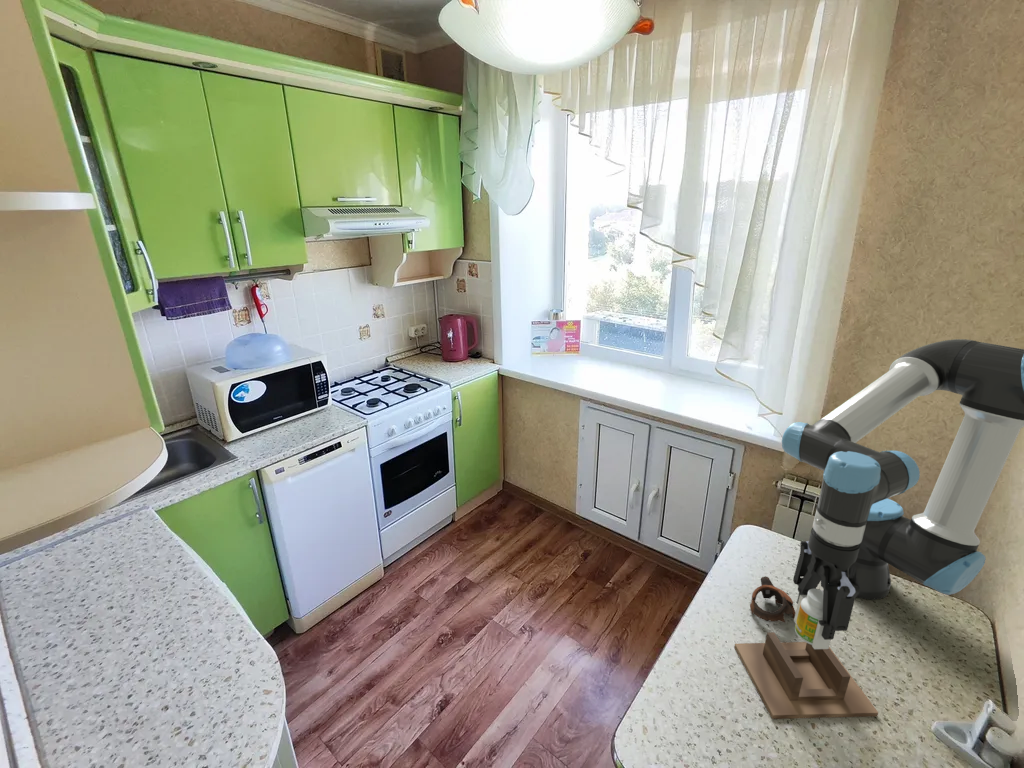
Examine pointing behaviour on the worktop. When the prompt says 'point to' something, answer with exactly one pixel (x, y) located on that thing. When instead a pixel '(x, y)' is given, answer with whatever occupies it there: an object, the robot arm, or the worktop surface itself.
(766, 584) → the pottery mug
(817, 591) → the supplement bottle
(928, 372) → the robot arm
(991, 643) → the worktop surface
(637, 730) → the worktop surface
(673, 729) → the worktop surface
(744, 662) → the wooden cradle tray
